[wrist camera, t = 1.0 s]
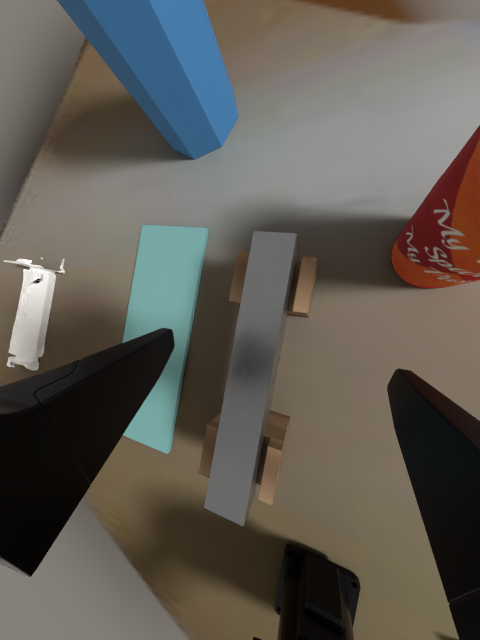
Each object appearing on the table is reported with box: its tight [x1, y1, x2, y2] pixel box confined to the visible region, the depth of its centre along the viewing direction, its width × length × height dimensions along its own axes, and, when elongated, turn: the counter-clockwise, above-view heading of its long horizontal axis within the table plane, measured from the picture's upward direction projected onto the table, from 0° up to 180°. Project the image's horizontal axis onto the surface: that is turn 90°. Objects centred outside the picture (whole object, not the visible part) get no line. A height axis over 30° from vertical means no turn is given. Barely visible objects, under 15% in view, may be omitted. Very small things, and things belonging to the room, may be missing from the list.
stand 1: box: [229, 251, 317, 318], centre depth 20 cm, size 4×6×6 cm, turn 80°
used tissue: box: [3, 258, 65, 371], centre depth 33 cm, size 11×18×4 cm, turn 156°
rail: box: [204, 231, 299, 527], centre depth 17 cm, size 20×3×3 cm, turn 170°
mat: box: [122, 225, 209, 454], centre depth 27 cm, size 26×9×1 cm, turn 170°
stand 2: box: [198, 411, 290, 505], centre depth 20 cm, size 4×6×6 cm, turn 80°
